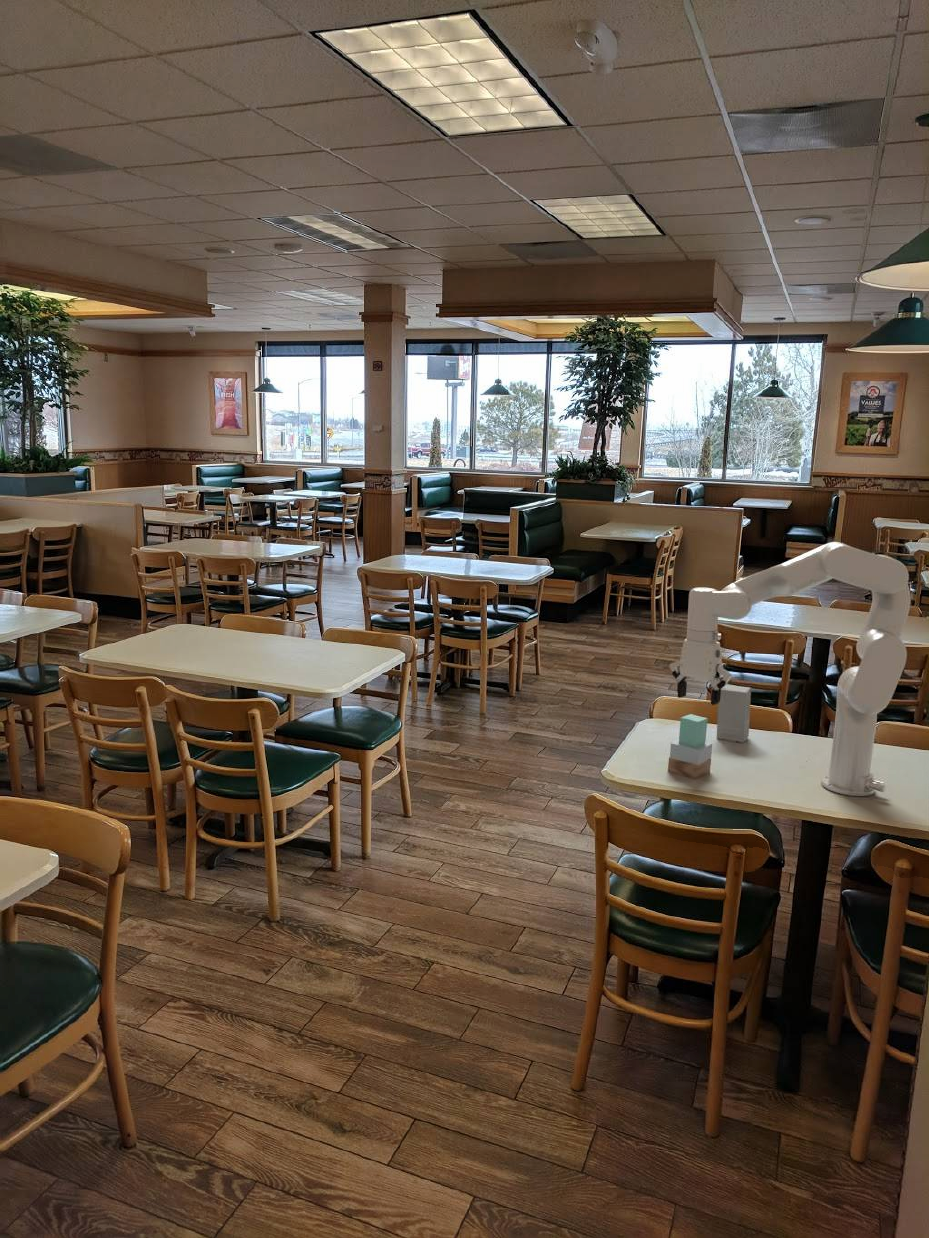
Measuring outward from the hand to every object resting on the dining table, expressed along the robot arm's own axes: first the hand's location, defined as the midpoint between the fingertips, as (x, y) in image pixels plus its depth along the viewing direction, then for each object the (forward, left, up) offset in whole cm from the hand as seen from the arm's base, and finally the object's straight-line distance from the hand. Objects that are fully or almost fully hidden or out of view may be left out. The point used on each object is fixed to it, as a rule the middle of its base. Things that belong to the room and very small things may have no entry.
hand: (698, 700), depth 232 cm
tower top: (+1, 0, -16) cm, 16 cm away
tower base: (+1, 0, -20) cm, 20 cm away
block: (+1, 0, -12) cm, 12 cm away
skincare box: (+8, -36, -20) cm, 41 cm away
